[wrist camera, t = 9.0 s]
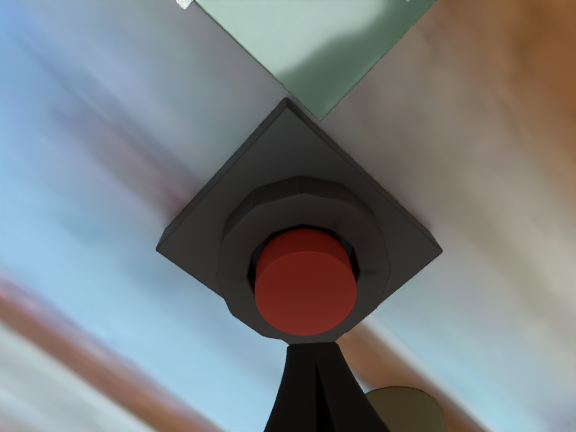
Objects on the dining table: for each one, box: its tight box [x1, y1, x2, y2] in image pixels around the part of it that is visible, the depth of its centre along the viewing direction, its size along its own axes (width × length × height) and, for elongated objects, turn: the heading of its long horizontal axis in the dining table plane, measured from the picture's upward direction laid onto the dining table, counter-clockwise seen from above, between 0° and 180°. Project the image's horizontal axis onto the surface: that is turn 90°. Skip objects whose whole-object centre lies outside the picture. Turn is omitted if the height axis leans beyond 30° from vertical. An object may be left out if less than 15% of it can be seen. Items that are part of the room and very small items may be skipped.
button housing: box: [156, 98, 443, 345], centre depth 18 cm, size 8×9×4 cm
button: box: [255, 228, 357, 336], centre depth 16 cm, size 4×4×2 cm
